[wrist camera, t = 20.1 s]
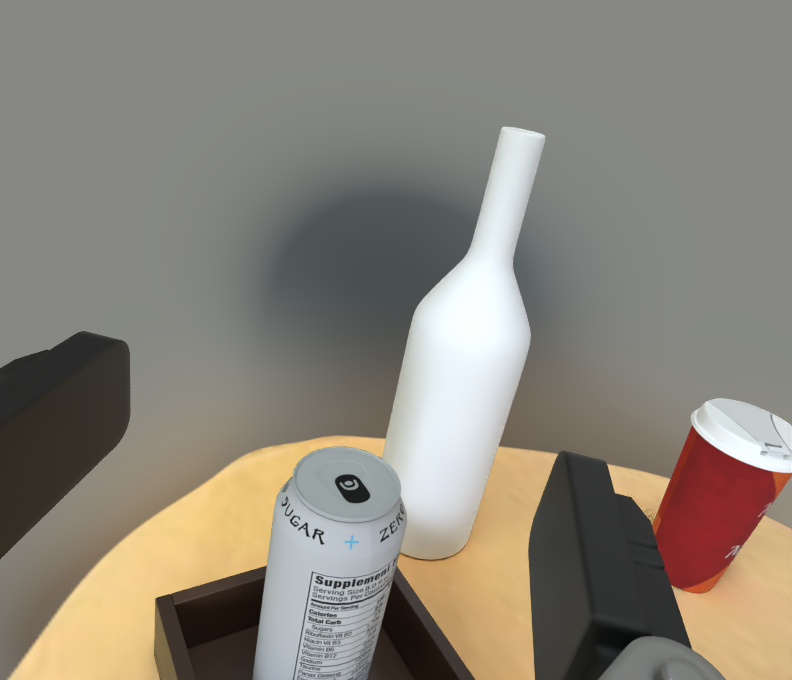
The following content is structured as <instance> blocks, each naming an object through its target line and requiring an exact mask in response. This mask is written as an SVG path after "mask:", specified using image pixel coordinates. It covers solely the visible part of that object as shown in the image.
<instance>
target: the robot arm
mask: <svg viewBox="0 0 792 680" xmlns="http://www.w3.org/2000/svg"><path fill="white" fill-rule="evenodd" d="M129 419H130V352H129V348H128V345H127V344H126V343H125V342H124V341H122V340H118V339H114V338H110V337H106V336H102V335H98V334H94V333H90V332H85V331H82V332H78V333H76V334H75V335H73V336H72V337H70V338H68V339H67V340H65V341H64V342H62V343H60V344H59V345H57V346H55V347H54V348H52V349H51V350H44V351H41V352H38V353H35V354H31V355H28V356H25V357H22V358H19V359H15V360H13V361H12V362H10V363H9V364H7V365H5V366H3V367H2V368H0V559H1V558H2V557H3V556H4V555H5V554H6V553H7V552H8V551H9V550H10V549H11V548H12V547H13V546H14V545H15V544H16V543H17V542H18V541H19V540H20V539H21V538H22V537H23V536H24V535H25V534H26V533H27V532H28V531H29V530H30V529H31V528H32V527H34V526H35V525H36V524H37V523H38V522H39V521H40V520H41V518H43V517H44V516H45V515H46V514H47V513H48V512H49V511H50V510H51V509H52V508H53V507H54V506H55V505H56V504H57V503H58V502H59V501H60V500H61V499H62V498H63V497H64V496H65V495H66V494H67V493H68V492H69V491H70V490H71V489H72V488H74V487H75V485H76V484H78V483H79V482H80V481H81V480H82V479H83V478H84V477H85V476H86V475H87V474H88V473H89V472H90V471H91V470H92V469H93V468H94V467H95V466H96V465H97V464H98V463H99V462H100V461H101V460H102V459H103V458H104V457H105V456H106V455H107V454H108V453H109V452H110V451H111V450H113V449H114V448H115V447H116V446H117V444H118V443H119V442H120V440H121V439H122V437H123V436H124V433H125V431H126V429H127V426H128V423H129ZM528 555H529V574H530V592H531V611H532V630H533V648H534V667H535V680H726V679H725V678H724V677H723V676H722V674H721V673H720V672H719V671H718V670H717V669H716V668H715V667H714V666H713V665H712V664H711V663H709V662H708V661H707V660H706V659H705V658H703V657H702V656H701V655H699V654H698V653H696V652H695V651H694V650H692V648H691V645H690V641H689V638H688V635H687V632H686V629H685V626H684V623H683V620H682V617H681V614H680V611H679V608H678V605H677V602H676V599H675V596H674V593H673V589H672V586H671V583H670V580H669V577H668V574H667V572H665V571H664V568H665V565H664V562H663V559H662V556H661V553H660V551H658V544H657V541H656V538H655V534H654V531H653V528H652V525H651V522H650V520H649V519H648V518H647V517H646V515H645V514H644V513H643V512H642V510H641V509H640V508H639V507H638V505H637V504H636V503H635V502H634V500H633V499H632V498H631V497H628V496H624V495H620V494H616V493H615V492H614V488H613V485H612V481H611V477H610V473H609V470H608V466H607V463H606V462H605V461H603V460H599V459H594V458H591V457H586V456H583V455H579V454H574V453H571V452H566V451H561V452H560V453H559V454H558V456H557V458H556V460H555V463H554V465H553V468H552V471H551V473H550V476H549V479H548V481H547V484H546V487H545V490H544V492H543V495H542V498H541V500H540V503H539V506H538V508H537V511H536V514H535V517H534V520H533V523H532V527H531V532H530V538H529V549H528Z"/></svg>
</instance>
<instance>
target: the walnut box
mask: <svg viewBox="0 0 792 680" xmlns="http://www.w3.org/2000/svg"><path fill="white" fill-rule="evenodd" d="M266 569H267V566H264V567H261V568H258V569H254V570H251V571H247V572H244V573H240V574H237V575H234V576H230V577H227V578H223V579H220V580H217V581H213V582H210V583H206V584H203V585H199V586H196V587H193V588H189V589H186V590H182V591H179V592H175V593H172V594H168V595H165V596H161V597H158V598H156V599H155V641H154V656H155V660H156V664H157V668H158V672H159V676H160V680H252V677H253V669H254V661H255V654H256V646H257V638H258V631H259V623H260V615H261V607H262V600H263V592H264V584H265V577H266ZM367 680H475V679H474V677H473V676H472V674H471V673H470V671H469V670H468V669H467V667H466V666H465V664H464V663H463V661H462V660H461V658H460V657H459V655H458V654H457V653H456V651H455V650H454V648H453V647H452V645H451V644H450V642H449V641H448V639H447V638H446V637H445V635H444V634H443V632H442V631H441V629H440V628H439V626H438V625H437V624H436V622H435V621H434V619H433V618H432V616H431V615H430V613H429V612H428V610H427V609H426V608H425V606H424V605H423V603H422V602H421V600H420V599H419V597H418V596H417V595H416V593H415V592H414V590H413V589H412V587H411V586H410V584H409V583H408V581H407V580H406V579H405V577H404V576H403V574H402V573H401V571H400V570H399V568H398V567H397V566H396V569H395V573H394V577H393V580H392V584H391V588H390V592H389V596H388V600H387V604H386V608H385V612H384V616H383V620H382V623H381V627H380V631H379V635H378V639H377V643H376V647H375V651H374V655H373V659H372V662H371V666H370V670H369V674H368V678H367Z"/></svg>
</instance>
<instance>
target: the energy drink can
mask: <svg viewBox="0 0 792 680" xmlns="http://www.w3.org/2000/svg"><path fill="white" fill-rule="evenodd" d="M400 494H401V483H400V480H399V477H398V475H397V474H396V472H395V470H394V469H393V468H392V467H391V466H390V465H389V464H388V463H387V462H385V461H384V460H383V459H381V458H380V457H378V456H376V455H374V454H372V453H369V452H367V451H364V450H360V449H357V448H351V447H327V448H322V449H318V450H316V451H313V452H311V453H309V454H307V455H306V456H304V457H303V458H302V459H301V460H300V461H299V462H298V463H297V465H296V467H295V469H294V472H293V476H292V477H291V478H290V479H289V480H288V481H287V482H286V484H285V485H284V486H283V487H282V488H281V490H280V492H279V493H278V495H277V498H276V502H275V507H274V515H273V523H272V530H271V538H270V546H269V554H268V561H267V569H266V577H265V584H264V592H263V600H262V607H261V615H260V623H259V631H258V638H257V646H256V654H255V661H254V669H253V677H252V680H367V678H368V674H369V670H370V666H371V662H372V659H373V655H374V651H375V647H376V643H377V639H378V635H379V631H380V627H381V623H382V620H383V616H384V612H385V608H386V604H387V600H388V596H389V592H390V588H391V584H392V580H393V577H394V573H395V569H396V565H397V561H398V557H399V553H400V549H401V545H402V541H403V538H404V534H405V530H406V525H407V513H406V510H405V507H404V504H403V501H402V499H401V496H400Z"/></svg>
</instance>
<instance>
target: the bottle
mask: <svg viewBox="0 0 792 680" xmlns="http://www.w3.org/2000/svg"><path fill="white" fill-rule="evenodd" d="M544 142H545V136H544V135H542V134H539V133H536V132H532V131H528V130H524V129H519V128H513V127H503V128H502V129H501V132H500V136H499V140H498V143H497V148H496V152H495V156H494V159H493V164H492V167H491V172H490V175H489V179H488V183H487V187H486V191H485V196H484V199H483V203H482V207H481V211H480V215H479V219H478V222H477V226H476V229H475V233H474V237H473V240H472V244H471V247H470V249H469V251H468V253H467V255H466V256H465V258H464V259H463V260H462V261H461V262H460V263H459V264H458V265H457V266H456V267H455V268H454V269H453V270H451V271H450V272H449V273H448V274H447V275H446V276H445V277H444V278H443V279H442V280H441V281H440V282H439V283H438V284H437V285H436V286H435V287H434V288H433V289H432V290H431V291H430V292H429V293H428V294H427V295H426V296H425V297H424V299H423V300H422V301H421V302H420V304H419V305H418V306H417V308H416V310H415V313H414V315H413V319H412V323H411V327H410V331H409V336H408V340H407V345H406V350H405V354H404V358H403V363H402V368H401V373H400V377H399V382H398V387H397V391H396V395H395V400H394V404H393V410H392V414H391V418H390V423H389V427H388V432H387V436H386V441H385V446H384V450H383V455H382V459H383V460H384V461H385V462H387V463H388V464H389V465H390V466H391V467H392V468H393V469H394V470H395V472H396V474H397V475H398V477H399V480H400V483H401V494H400V496H401V499H402V501H403V504H404V507H405V510H406V513H407V525H406V530H405V534H404V538H403V541H402V545H401V549H400V552H401V553H403V554H405V555H408V556H411V557H415V558H419V559H430V560H433V559H443V558H446V557H450V556H452V555H454V554H456V553H458V552H459V551H460V550H461V549H462V548H463V547H464V546H465V544H466V543H467V541H468V539H469V537H470V534H471V531H472V527H473V524H474V521H475V518H476V515H477V512H478V509H479V505H480V502H481V499H482V496H483V493H484V490H485V487H486V483H487V480H488V477H489V474H490V471H491V468H492V465H493V461H494V458H495V455H496V452H497V449H498V446H499V442H500V439H501V436H502V433H503V430H504V427H505V424H506V421H507V417H508V414H509V411H510V408H511V405H512V402H513V398H514V395H515V392H516V389H517V386H518V383H519V379H520V376H521V373H522V370H523V367H524V364H525V360H526V357H527V353H528V349H529V346H530V338H531V333H530V327H529V323H528V319H527V315H526V311H525V308H524V305H523V301H522V298H521V295H520V292H519V288H518V285H517V282H516V278H515V275H514V271H513V257H514V252H515V247H516V243H517V240H518V236H519V232H520V228H521V225H522V221H523V218H524V214H525V210H526V207H527V203H528V200H529V196H530V192H531V189H532V185H533V182H534V178H535V175H536V171H537V168H538V164H539V160H540V157H541V153H542V150H543V146H544Z"/></svg>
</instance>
